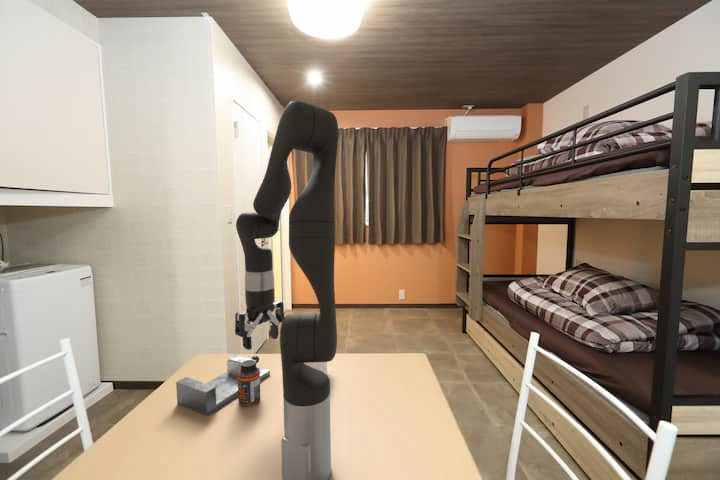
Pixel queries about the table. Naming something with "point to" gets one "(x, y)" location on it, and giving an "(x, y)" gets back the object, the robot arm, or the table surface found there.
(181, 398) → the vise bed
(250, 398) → the supplement bottle
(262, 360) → the table surface
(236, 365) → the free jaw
